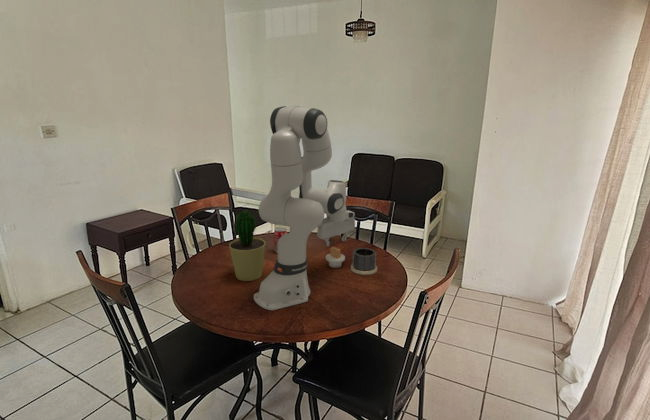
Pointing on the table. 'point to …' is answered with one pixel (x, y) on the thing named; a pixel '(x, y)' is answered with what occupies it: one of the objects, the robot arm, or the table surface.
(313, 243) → the table surface
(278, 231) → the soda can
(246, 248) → the potted cactus
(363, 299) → the table surface
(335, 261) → the cap
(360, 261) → the cylinder
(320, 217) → the robot arm
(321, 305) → the table surface
